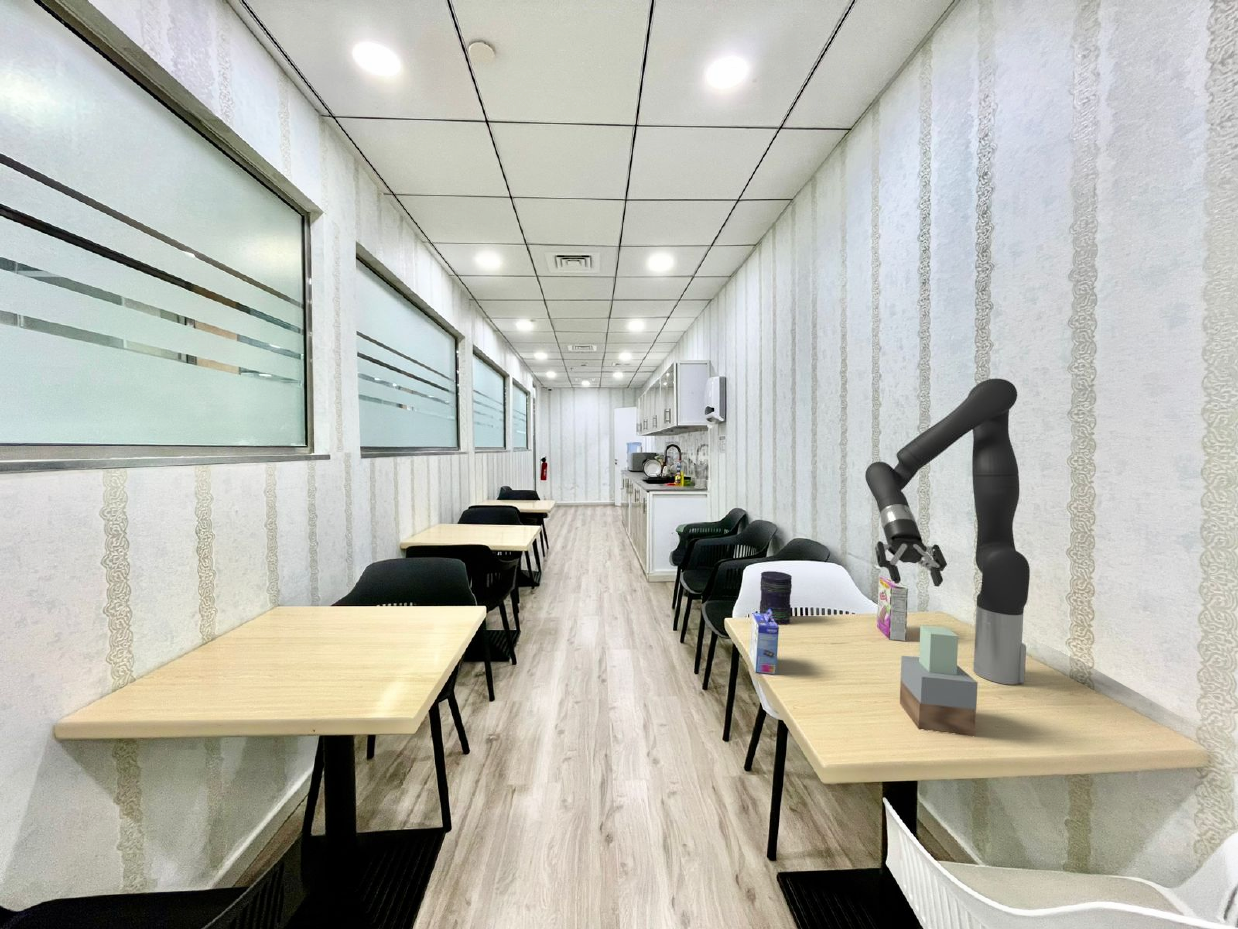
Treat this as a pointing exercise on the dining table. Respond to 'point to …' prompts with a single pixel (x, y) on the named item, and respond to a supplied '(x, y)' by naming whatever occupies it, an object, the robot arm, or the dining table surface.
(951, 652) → the sage block
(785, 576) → the storage jar
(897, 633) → the candy bar box
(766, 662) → the ink cartridge box
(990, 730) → the dining table surface
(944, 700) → the tower top
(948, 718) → the tower base
